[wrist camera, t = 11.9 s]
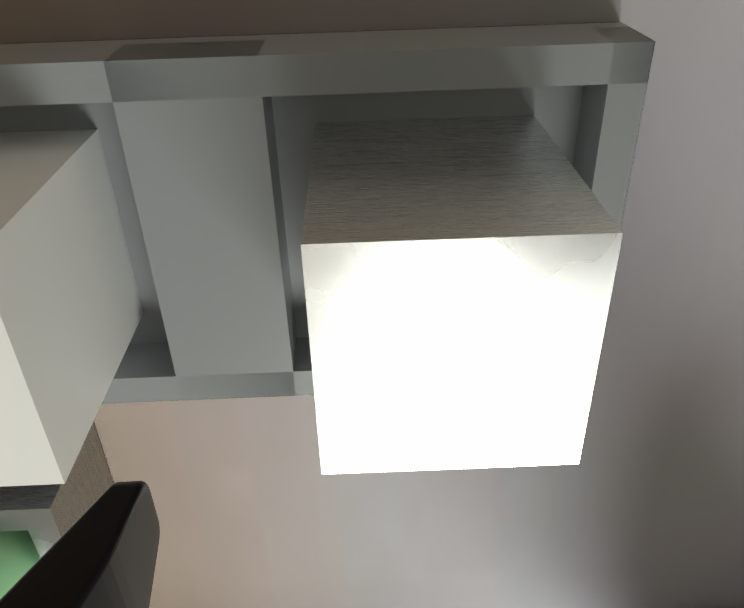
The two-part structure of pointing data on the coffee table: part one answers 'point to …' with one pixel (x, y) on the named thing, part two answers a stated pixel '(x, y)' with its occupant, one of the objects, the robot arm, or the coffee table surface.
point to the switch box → (57, 498)
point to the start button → (15, 557)
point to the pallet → (230, 197)
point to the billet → (452, 294)
